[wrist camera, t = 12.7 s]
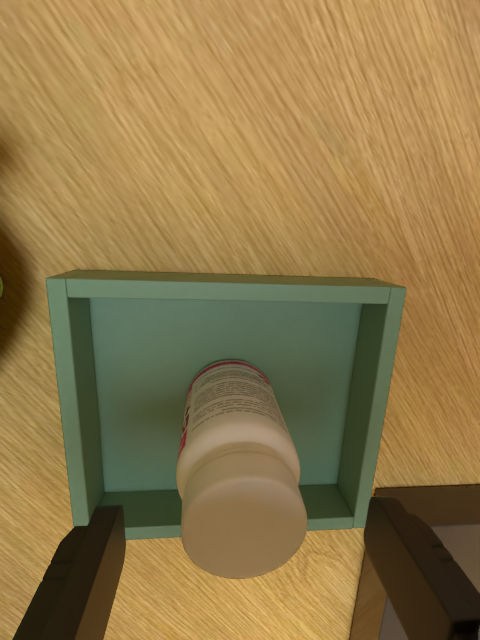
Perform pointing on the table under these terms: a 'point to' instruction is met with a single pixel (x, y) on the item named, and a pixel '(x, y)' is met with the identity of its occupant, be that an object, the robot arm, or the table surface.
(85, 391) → the tray
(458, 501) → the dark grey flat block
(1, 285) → the teapot
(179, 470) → the pill bottle
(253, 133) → the table surface
